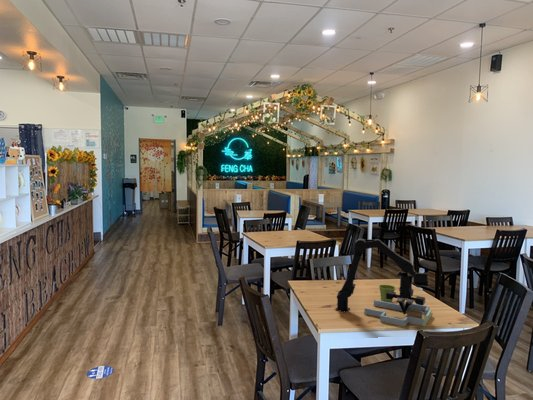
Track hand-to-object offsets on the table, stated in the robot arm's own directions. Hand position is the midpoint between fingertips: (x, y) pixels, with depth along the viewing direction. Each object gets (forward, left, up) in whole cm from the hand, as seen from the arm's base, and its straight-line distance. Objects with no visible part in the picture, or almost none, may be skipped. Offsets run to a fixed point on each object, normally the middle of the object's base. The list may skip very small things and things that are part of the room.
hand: (404, 314), depth 204 cm
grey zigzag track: (0, +3, -1) cm, 4 cm away
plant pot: (+19, +14, -1) cm, 24 cm away
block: (-1, -5, -1) cm, 5 cm away
